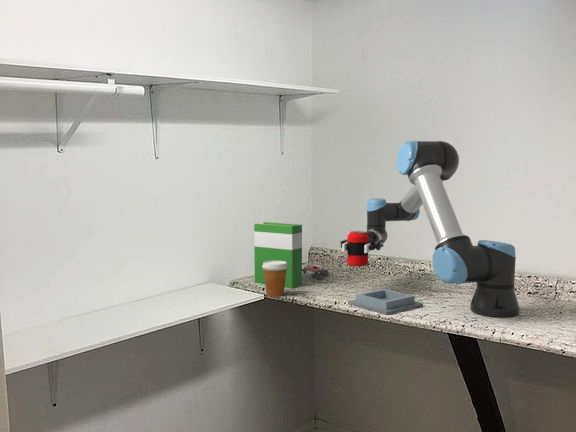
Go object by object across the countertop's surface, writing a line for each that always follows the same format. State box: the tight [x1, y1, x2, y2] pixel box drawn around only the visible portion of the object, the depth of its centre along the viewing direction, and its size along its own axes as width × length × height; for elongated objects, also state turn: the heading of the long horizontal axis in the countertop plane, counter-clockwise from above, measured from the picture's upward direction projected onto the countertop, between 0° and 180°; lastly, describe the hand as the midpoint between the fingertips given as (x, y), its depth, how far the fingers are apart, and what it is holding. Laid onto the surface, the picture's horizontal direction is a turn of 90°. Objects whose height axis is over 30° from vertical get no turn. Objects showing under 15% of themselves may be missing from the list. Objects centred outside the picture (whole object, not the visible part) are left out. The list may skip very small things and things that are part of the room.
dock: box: [347, 288, 424, 316], centre depth 208 cm, size 18×18×4 cm
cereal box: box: [253, 221, 303, 289], centre depth 241 cm, size 18×7×24 cm, turn 58°
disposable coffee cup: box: [262, 261, 288, 298], centre depth 224 cm, size 10×10×12 cm
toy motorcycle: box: [302, 264, 329, 280], centre depth 259 cm, size 9×4×20 cm
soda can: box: [346, 230, 369, 267], centre depth 223 cm, size 8×8×12 cm
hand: (354, 248), depth 218 cm, fingers closed on soda can, 7 cm apart
